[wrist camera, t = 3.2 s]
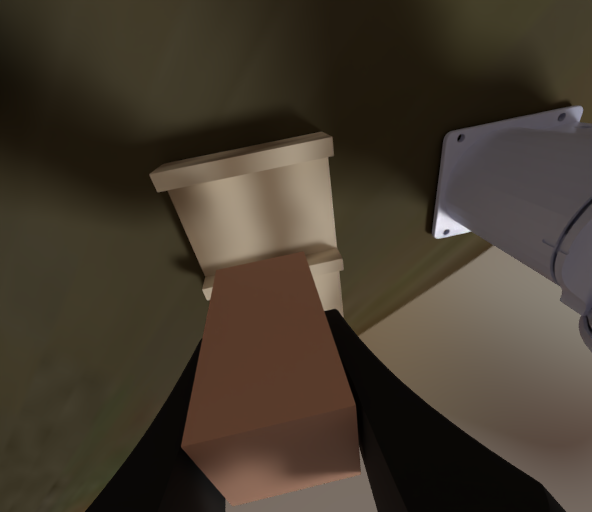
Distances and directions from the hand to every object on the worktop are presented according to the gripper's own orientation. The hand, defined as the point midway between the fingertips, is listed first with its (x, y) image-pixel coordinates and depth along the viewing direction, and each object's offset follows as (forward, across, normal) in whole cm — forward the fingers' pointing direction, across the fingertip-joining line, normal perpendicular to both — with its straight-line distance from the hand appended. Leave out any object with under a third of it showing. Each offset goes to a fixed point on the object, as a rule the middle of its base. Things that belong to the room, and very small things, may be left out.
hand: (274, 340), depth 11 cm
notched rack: (+10, 0, +7) cm, 12 cm away
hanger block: (+3, 0, 0) cm, 3 cm away
